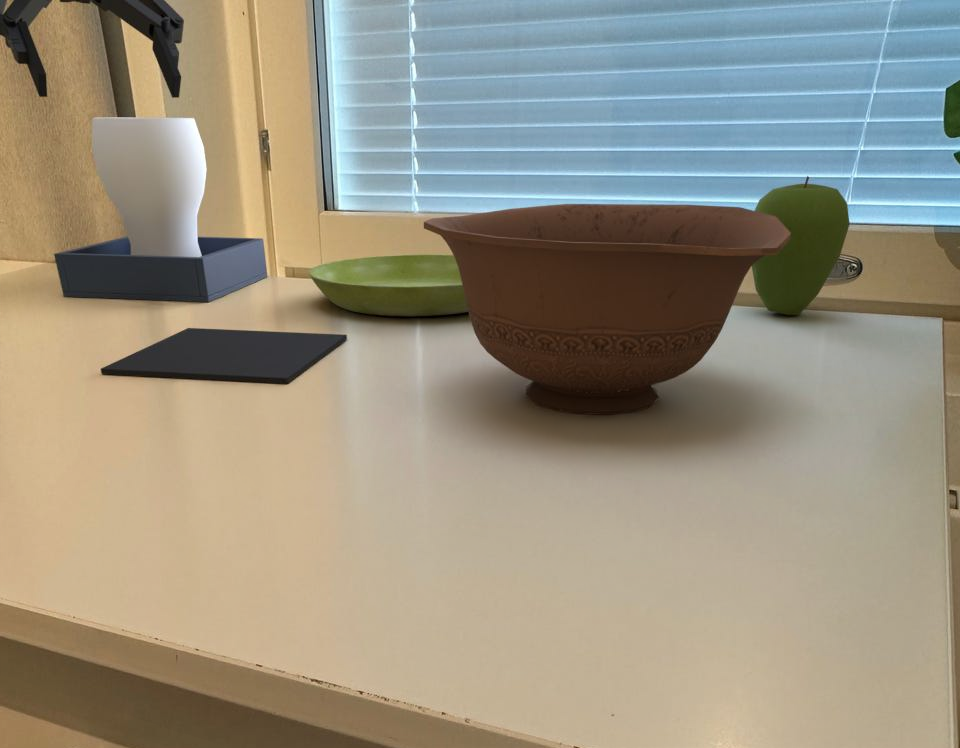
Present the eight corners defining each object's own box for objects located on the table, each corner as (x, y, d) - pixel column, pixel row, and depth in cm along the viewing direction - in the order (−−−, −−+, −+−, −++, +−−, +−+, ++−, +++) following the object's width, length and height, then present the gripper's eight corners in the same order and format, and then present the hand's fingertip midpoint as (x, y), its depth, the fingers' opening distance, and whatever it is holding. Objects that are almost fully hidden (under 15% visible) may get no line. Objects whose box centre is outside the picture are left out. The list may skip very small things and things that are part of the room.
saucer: (532, 287, 95) (533, 255, 93) (509, 328, 77) (510, 289, 76) (344, 281, 97) (342, 250, 96) (281, 319, 80) (277, 281, 78)
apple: (738, 303, 88) (757, 172, 82) (827, 308, 86) (854, 174, 80) (735, 320, 80) (756, 177, 75) (833, 326, 79) (862, 180, 73)
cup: (242, 277, 97) (222, 118, 89) (175, 292, 88) (147, 118, 81) (166, 270, 100) (141, 117, 93) (95, 284, 92) (61, 117, 84)
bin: (63, 296, 89) (53, 253, 87) (139, 272, 102) (132, 234, 100) (208, 302, 87) (202, 258, 85) (267, 276, 100) (263, 238, 98)
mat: (101, 374, 63) (100, 368, 63) (188, 332, 75) (188, 327, 75) (287, 383, 61) (286, 378, 61) (347, 339, 73) (346, 334, 73)
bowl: (836, 414, 56) (877, 223, 50) (544, 474, 46) (554, 247, 41) (622, 344, 72) (635, 194, 66) (374, 378, 63) (364, 206, 57)
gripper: (160, -34, 105) (222, 115, 102) (-78, -52, 93) (-16, 116, 90) (165, -99, 98) (232, 58, 95) (-90, -127, 86) (-23, 51, 83)
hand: (112, 86), depth 93 cm, fingers open, 13 cm apart
